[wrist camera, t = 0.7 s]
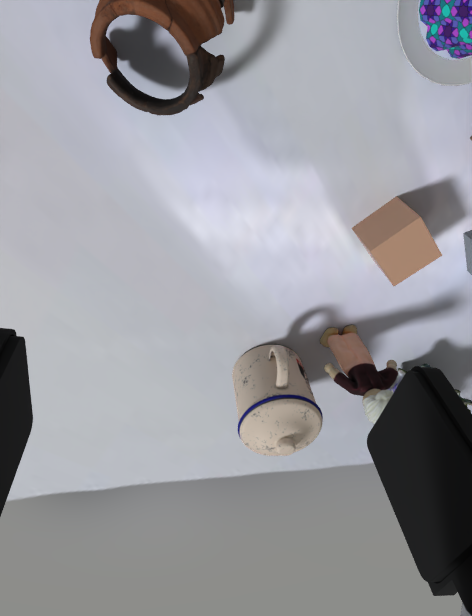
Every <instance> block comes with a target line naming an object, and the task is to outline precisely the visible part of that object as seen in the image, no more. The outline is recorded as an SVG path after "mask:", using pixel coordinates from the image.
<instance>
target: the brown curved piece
mask: <svg viewBox="0 0 472 616" xmlns="http://www.w3.org/2000/svg"><path fill="white" fill-rule="evenodd" d="M223 6H224V9H225V14H226V21H227V24H232V23H233V22H234V4H233V0H100V1H99V4H98V6H97V9H96V14H95V19H94V21H93V23H92V27H91V35H90V43H91V49H92V54H93V56H94V58H99V59H101V58H102V60H103V62H104V64H105V65H106V67H107V68H108V70H109V72H110V73H111V74H110V75H109V76H108V77H107V84H108V86H109V87H110V88H111V89H112V90H113V91H114V92H115V93H116V94H117V95H118V96H119V97H121V98H122V99H123V100H124V101H125V102H127V103H128V104H130V105H131V106H133V107H135V108H137V109H139V110H142V111H144V112H149V113H151V114H156V115H173V114H176V113H179V112H182V111H183V110H185V109H187V108H188V106H189V105H192V104H195V103H197V102H199V101H201V100H203V99H204V96H203V95H202V94H199V93H198V92H199V91H201V90H204V89H206V88H207V87H209V86H210V85H211V84H212V83H213V81H214V80H215V78H216V77H217V76H219V75H220V74H221V73H222V70H223V66H224V61H225V58H224V56H223V55H219V56H217V57H215V56H214V55H213V54H210V53H209V52H207V51H206V50H205V49H204V48H202V47H201V44H202V43H205V42H207V41H209V40H210V39H211V38H214V37H215V36H217V35H219V34H221V33H222V29H223V26H224V16H223V13H222V11H221V8H222V7H223ZM127 14H129V15H139V16H143V17H145V18H148V19H150V20H152V21H155V22H156V23H158V24H159V25H161V26H162V27H163V28H165V29H166V30H168V31H169V33H170V34H171V35H172V36H173V37H174V38H175V39H176V41H177V42H178V44H179V45H180V47H181V48H182V50H183V52H184V54H185V55H186V56H187V60H188V65H189V71H190V78H189V83H188V86H187V88H186V90H185V92H184V93H183V94H182V95H180V96H178V97H176V98H173V99H167V100H165V99H158V98H155V97H152V96H149V95H147V94H145V93H143V92H141V91H139V90H138V89H136V88H135V87H134V86H133V85H132V84H130V82H129V81H128V80H127V79H126V78H125V77H124V76H123V75H122V73H121V72H120V71H119V69H118V68H117V52H116V49H115V48H114V46H113V45H112V43H111V42H110V41H109V39H108V38H107V37H106V31H107V28H108V26H109V24H110V23H111V22H112V21H113V20H114V19H116V18H117V17H119V16H122V15H127Z"/></svg>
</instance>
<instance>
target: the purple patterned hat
mask: <svg viewBox="0 0 472 616" xmlns="http://www.w3.org/2000/svg"><path fill="white" fill-rule="evenodd" d="M418 1H419V0H398V8H397V25H398V35H399V39H400V43H401V47H402V49H403V52H404V54H405V56H406V59H407V60H408V62H409V63H410V64H411V66H412V67H413V69H414V70H415V71H416V72H418V73H419V74H420V75H421V76H422V77H423V78H425V79H427V80H429V81H431V82H433V83H437V84H441V85H446V86H458V85H464V84H469V83H472V57H470V58H468V59H462V60H449V59H446V58H442V57H440V56H438V55H437V54H435V53H434V52H433V51H432V50H431V49H430V48H429V47H428V46H427V44H426V43H425V41H424V39H423V37H422V35H421V32H420V28H419V23H418ZM419 13H420V19H421V21H422V22H423V23H424V24H425V25H427V26H428V29H427V36H426V39H427V42H428V44H429V46H430V47H431V48H433V49H434V50H436V51H440V50H445V49H447V51H448V52H449V54H450V56H451V57H453V58H458V59H460V58H463V57H466V56H470V55H472V0H421V2H420V8H419Z"/></svg>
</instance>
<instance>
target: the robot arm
mask: <svg viewBox="0 0 472 616" xmlns="http://www.w3.org/2000/svg"><path fill="white" fill-rule="evenodd" d="M32 422H33V414H32V404H31V395H30V385H29V375H28V365H27V355H26V346H25V339H24V337H19V336H16V332H15V330H13V329H4V328H0V516H1V513H2V510H3V508H4V505H5V502H6V499H7V497H8V494H9V491H10V488H11V485H12V483H13V480H14V477H15V474H16V471H17V469H18V466H19V463H20V460H21V457H22V455H23V452H24V449H25V446H26V443H27V441H28V438H29V435H30V432H31V428H32ZM367 446H368V449H369V452H370V454H371V457H372V459H373V461H374V464H375V466H376V469H377V471H378V474H379V476H380V478H381V481H382V483H383V486H384V488H385V490H386V493H387V495H388V497H389V500H390V502H391V505H392V507H393V510H394V512H395V515H396V517H397V519H398V522H399V524H400V527H401V529H402V531H403V534H404V536H405V539H406V541H407V544H408V546H409V548H410V551H411V553H412V556H413V558H414V561H415V563H416V565H417V568H418V570H419V572H420V574H421V576H422V578H423V579H424V580H425V581H427V582H428V583H429V586H430V588H431V591H432V593H433V595H434V596H442V595H443V596H444V595H455V594H456V593H457V592H458V593H459V595H460V598H461V600H462V602H463V603H462V609H461V615H460V616H472V414H471V413H470V411H469V410H468V408H467V407H466V405H465V404H464V403H463V401H462V400H461V398H460V397H459V395H458V394H457V393H456V391H455V390H454V388H453V387H452V385H451V384H450V383H449V381H448V380H447V378H446V377H445V375H444V374H443V373H442V372H441V370H440V369H437V368H431V367H420V366H415V367H414V368H412V369H411V370H410V371H408V372H406V374H405V375H404V377H403V378H402V380H401V381H400V383H399V385H398V386H397V388H396V390H395V391H394V393H393V395H392V396H391V398H390V400H389V401H388V403H387V405H386V406H385V408H384V410H383V411H382V413H381V415H380V416H379V418H378V420H377V421H376V423H375V424H374V426H373V428H372V429H371V431H370V433H369V435H368V438H367Z"/></svg>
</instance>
